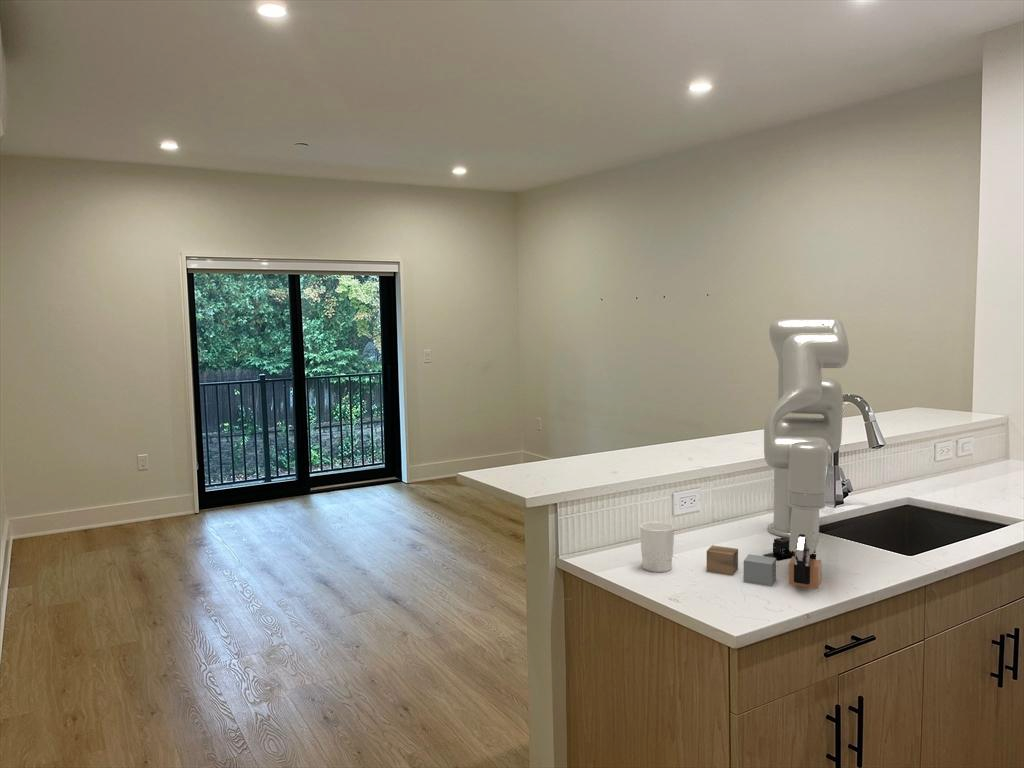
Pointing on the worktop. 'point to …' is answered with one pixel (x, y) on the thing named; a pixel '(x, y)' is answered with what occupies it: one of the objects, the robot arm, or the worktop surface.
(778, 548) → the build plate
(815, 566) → the terracotta block
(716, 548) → the walnut block
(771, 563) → the slate grey block
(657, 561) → the white cup
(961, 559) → the worktop surface
